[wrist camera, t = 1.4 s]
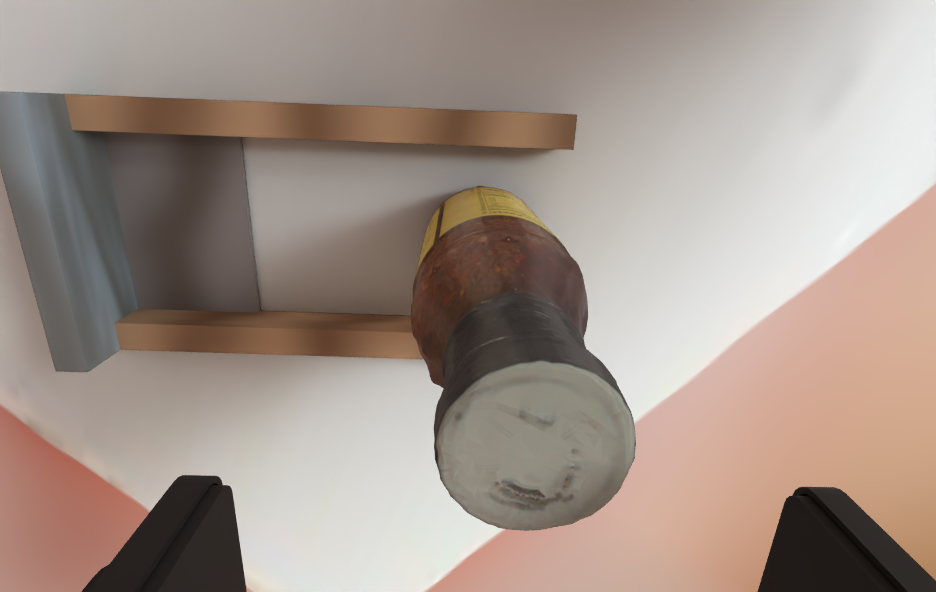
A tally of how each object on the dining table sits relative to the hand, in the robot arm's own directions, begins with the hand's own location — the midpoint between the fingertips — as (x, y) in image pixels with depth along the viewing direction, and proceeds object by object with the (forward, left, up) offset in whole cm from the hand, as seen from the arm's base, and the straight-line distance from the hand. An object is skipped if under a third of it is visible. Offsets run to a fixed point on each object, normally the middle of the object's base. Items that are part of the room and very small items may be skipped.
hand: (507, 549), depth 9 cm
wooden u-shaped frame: (+8, 0, -21) cm, 23 cm away
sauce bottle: (0, 0, -22) cm, 22 cm away
